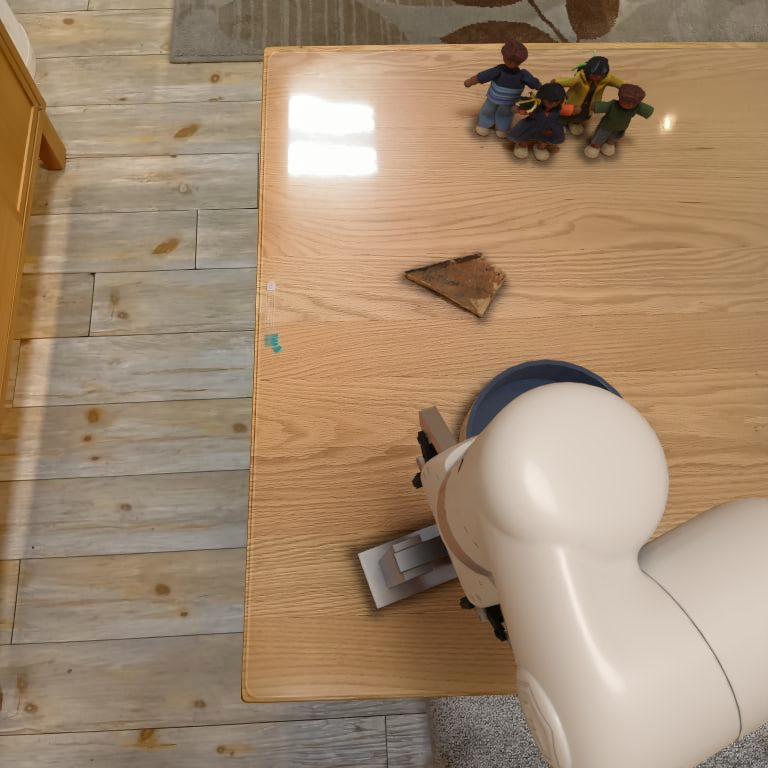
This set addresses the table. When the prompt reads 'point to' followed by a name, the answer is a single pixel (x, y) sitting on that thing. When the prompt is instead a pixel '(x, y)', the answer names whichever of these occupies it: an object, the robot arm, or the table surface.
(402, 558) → the stirring stick
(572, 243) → the table surface
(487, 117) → the doll family
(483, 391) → the bowl
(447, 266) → the shard
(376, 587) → the stick stand
